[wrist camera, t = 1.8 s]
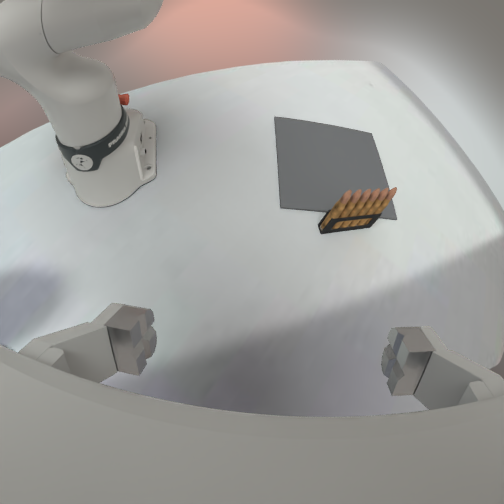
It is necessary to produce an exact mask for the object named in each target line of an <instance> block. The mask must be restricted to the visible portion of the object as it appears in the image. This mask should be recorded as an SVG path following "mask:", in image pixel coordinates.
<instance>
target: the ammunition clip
mask: <svg viewBox="0 0 504 504" xmlns="http://www.w3.org/2000/svg"><path fill="white" fill-rule="evenodd" d="M388 190H389V188H385V189H384V190H382V191H381V192H380V188H378V189H376V190H374V191H373V192H372V193H371V189H368V190H366V191H365V192H364V193H363V194H362V195H361V192H362V190H361V189H359V190H357V191H356V192H355V193H354V194H353V195H352V196H351V193H352V190H348V191H347V192H345V193H344V194H343V196H342V197H341V198H340V199H339V201H337V202H336V204H335V205H334V206H333V208H332V209H331V210H328V212H327V213H326V214H325V216H324V217H323V219H322V220H321V221H320V223H319V224H318V227H319V230H320V233H321V234H325V233H333V232H340V231H347V230H355V229H363V228H370V227H371V226H372V225H373V224H374V223H375V221H376V220H377V219H378V218H379V217H380V216H381V215H382V213H381V212H382V211H383V210H384V209H385V208H386V207H387V205H388V203H389V202H390V200H391V199H392V198H393V196H394V195H395V193H396V190H397V188H396V187H395V188H393V189H391V190H390V191H389V192H388Z"/></svg>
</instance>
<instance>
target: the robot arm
mask: <svg viewBox="0 0 504 504" xmlns="http://www.w3.org/2000/svg"><path fill="white" fill-rule="evenodd" d="M162 2H163V0H5V1H3V2H2V3H0V76H1V77H4V78H7V79H9V80H11V81H13V82H15V83H16V84H18V85H20V86H21V87H23V88H24V89H25V90H26V91H27V92H29V93H30V94H31V95H32V96H33V97H34V98H35V99H36V100H37V101H38V102H39V104H40V105H41V107H42V108H43V110H44V112H45V114H46V115H47V117H48V119H49V121H50V123H51V125H52V127H53V129H54V131H55V133H56V141H57V144H58V148H59V150H61V156H62V159H63V161H64V164H65V167H66V169H67V173H66V177H67V180H68V181H69V182H70V183H71V184H72V185H73V186H74V188H75V191H76V194H77V196H78V197H79V199H80V200H81V201H82V202H84V203H85V204H87V205H90V206H94V207H106V206H111V205H114V204H117V203H119V202H121V201H123V200H124V199H126V198H127V197H129V196H130V195H131V194H132V193H134V192H135V191H136V190H137V189H138V188H139V187H140V186H141V185H143V184H145V183H147V182H149V181H151V180H153V179H154V178H155V177H156V125H155V123H154V122H152V121H150V120H147V119H143V115H142V113H141V112H139V111H137V110H134V109H128V108H123V107H122V105H128V103H129V95H128V94H123V95H120V94H118V91H117V87H116V82H115V77H114V74H113V73H112V71H111V70H110V68H109V67H108V66H107V65H105V64H104V63H103V62H101V61H99V60H95V59H91V58H87V57H83V56H81V55H79V54H77V53H75V52H74V51H72V50H73V49H77V48H81V47H85V46H88V45H93V44H97V43H102V42H106V41H110V40H113V39H116V38H119V37H122V36H124V35H127V34H130V33H133V32H135V31H138V30H141V29H144V28H146V27H147V26H148V25H149V24H150V23H151V22H152V21H153V19H154V18H155V17H156V15H157V14H158V12H159V10H160V8H161V5H162ZM148 169H150V170H148ZM153 322H154V315H153V311H152V310H151V309H147V308H141V307H136V306H130V305H125V304H119V303H112V304H110V305H109V306H108V307H107V308H106V309H105V310H104V311H103V312H102V313H101V314H100V315H99V316H98V317H96V318H95V319H94V320H93V321H92V322H91V323H88V322H86V323H83V324H80V325H77V326H74V327H71V328H67V329H64V330H61V331H58V332H54V333H51V334H48V335H45V336H41V337H38V338H35V339H33V340H32V341H31V342H29V343H28V344H27V345H26V346H25V347H24V348H23V349H21V350H20V351H19V352H18V353H17V352H15V351H13V350H10V349H8V348H6V347H4V346H2V345H0V504H504V380H503V378H502V377H501V376H500V375H498V374H496V373H494V372H492V371H491V370H489V369H487V368H485V367H483V366H481V365H479V364H477V363H475V362H474V361H472V360H470V359H468V358H466V357H464V356H462V355H460V354H458V353H456V352H455V351H453V350H448V349H447V348H446V346H445V345H444V343H443V342H442V341H441V339H440V338H439V336H438V335H437V334H436V332H435V331H434V330H433V328H432V327H430V326H423V327H395V328H391V330H390V332H389V334H388V338H387V339H388V341H389V343H390V344H389V345H388V346H387V347H386V348H385V349H384V351H383V355H382V361H381V366H382V371H383V374H384V375H385V376H386V377H388V378H389V379H388V382H387V385H388V387H389V390H390V393H391V395H392V396H403V395H414V397H415V398H416V399H418V400H419V401H420V402H421V403H422V404H423V405H424V406H425V407H427V408H428V409H429V410H425V411H418V412H409V413H400V414H389V415H376V416H356V417H298V416H278V415H265V414H253V413H243V412H234V411H226V410H219V409H212V408H205V407H199V406H193V405H187V404H182V403H177V402H172V401H167V400H162V399H157V398H153V397H149V396H144V395H140V394H136V393H132V392H128V391H124V390H121V389H117V388H114V387H110V386H107V385H103V384H100V382H102V381H103V380H105V379H107V378H109V377H110V376H112V375H114V374H115V373H117V371H119V372H124V373H128V374H133V375H138V376H140V374H141V372H142V371H143V369H144V368H145V366H146V364H147V363H146V359H147V358H149V357H151V356H152V355H153V353H154V351H155V347H156V341H157V337H156V331H155V330H154V328H153V327H152V326H151V325H152V323H153Z"/></svg>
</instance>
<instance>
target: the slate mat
mask: <svg viewBox="0 0 504 504" xmlns="http://www.w3.org/2000/svg"><path fill="white" fill-rule="evenodd" d="M274 119H275V132H276V146H277V160H278V176H279V192H280V208H284V209H296V210H307V211H318V212H328V210H331V209H332V208H333V206H334V205H335V204H336V202H337V201H339V199H340V198H341V197H342V196H343V194H344V193H345V192H347V191H348V190H352V193H351V196H352V195H353V194H354V193H355V192H356V191H357V190H359V189H361V190H362V192H361V195H362V194H363V193H364V192H365V191H366V190H368V189H371V193H372V192H373V191H374V190H376V189H378V188H380V192H381V191H382V190H384V189H385V188H389V186H388V183H387V179H386V176H385V173H384V169H383V166H382V163H381V160H380V157H379V153H378V150H377V147H376V144H375V142H374V139H373V136H372V133H367V132H363V131H358V130H354V129H349V128H344V127H339V126H333V125H328V124H322V123H316V122H310V121H304V120H297V119H290V118H282V117H274ZM389 191H390V190H388V192H389ZM381 213H382V215H381V216H380V217H379V218H384V219H392V220H397V217H396V213H395V209H394V205H393V201H392V199H391V200H390V202H389V203H388V205H387V207H386V208H385V209H384V210H383V211H382V212H381Z"/></svg>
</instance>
